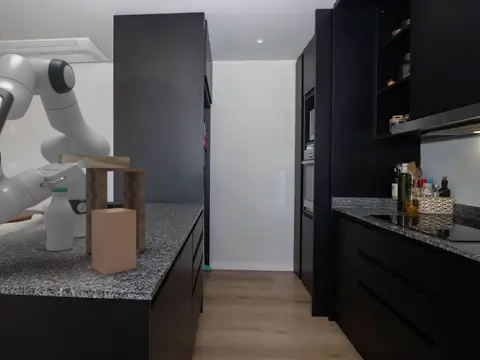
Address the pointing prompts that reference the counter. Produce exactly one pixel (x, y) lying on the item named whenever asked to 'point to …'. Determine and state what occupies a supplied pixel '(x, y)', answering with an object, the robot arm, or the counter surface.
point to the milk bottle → (59, 221)
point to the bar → (97, 161)
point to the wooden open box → (131, 199)
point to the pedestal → (113, 240)
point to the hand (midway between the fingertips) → (83, 159)
